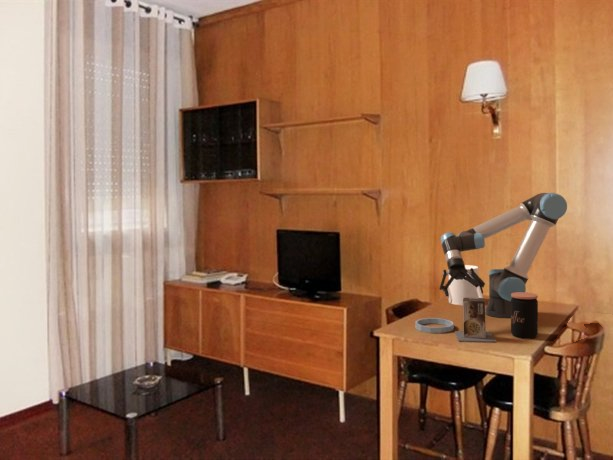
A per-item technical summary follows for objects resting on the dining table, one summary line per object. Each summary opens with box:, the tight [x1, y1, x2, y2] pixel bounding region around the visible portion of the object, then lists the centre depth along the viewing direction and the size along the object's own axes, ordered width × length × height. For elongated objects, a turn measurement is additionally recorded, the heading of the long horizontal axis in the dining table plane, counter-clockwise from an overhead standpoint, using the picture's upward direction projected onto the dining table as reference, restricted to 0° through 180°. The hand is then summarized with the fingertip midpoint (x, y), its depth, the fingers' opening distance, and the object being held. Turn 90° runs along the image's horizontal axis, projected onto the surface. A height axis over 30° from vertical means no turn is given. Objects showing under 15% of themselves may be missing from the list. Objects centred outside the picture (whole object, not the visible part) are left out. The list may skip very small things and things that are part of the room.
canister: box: [448, 264, 479, 306], centre depth 287 cm, size 16×16×20 cm
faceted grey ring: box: [414, 317, 455, 334], centre depth 237 cm, size 17×17×2 cm
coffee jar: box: [510, 292, 539, 340], centre depth 220 cm, size 11×11×18 cm
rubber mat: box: [454, 330, 497, 343], centre depth 220 cm, size 15×14×1 cm
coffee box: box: [462, 297, 487, 338], centre depth 220 cm, size 9×6×16 cm
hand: (466, 301), depth 226 cm, fingers open, 13 cm apart
